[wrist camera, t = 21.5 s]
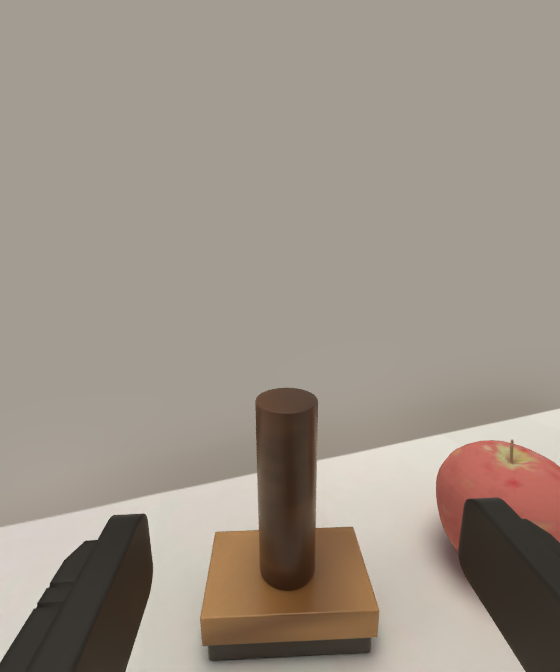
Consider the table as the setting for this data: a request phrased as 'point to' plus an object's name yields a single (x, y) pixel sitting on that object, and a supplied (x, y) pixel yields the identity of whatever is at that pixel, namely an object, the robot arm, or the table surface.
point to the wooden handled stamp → (287, 556)
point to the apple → (499, 484)
